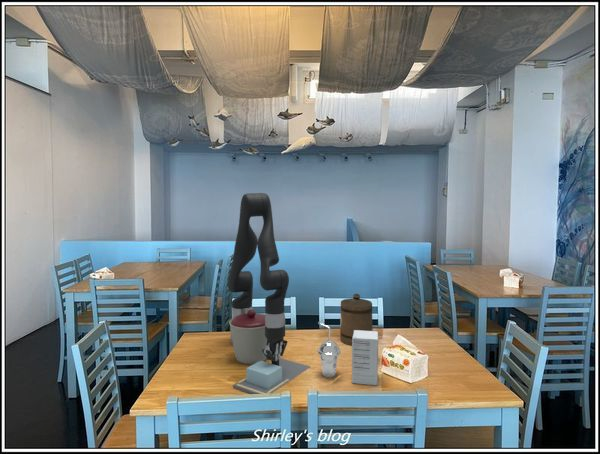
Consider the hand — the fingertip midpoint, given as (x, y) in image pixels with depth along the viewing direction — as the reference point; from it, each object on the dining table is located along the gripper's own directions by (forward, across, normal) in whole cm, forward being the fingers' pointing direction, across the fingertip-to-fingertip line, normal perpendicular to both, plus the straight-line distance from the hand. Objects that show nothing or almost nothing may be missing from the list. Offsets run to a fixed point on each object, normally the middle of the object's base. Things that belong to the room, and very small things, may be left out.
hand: (275, 369), depth 149 cm
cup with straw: (+3, -11, +16) cm, 20 cm away
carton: (+2, +6, 0) cm, 7 cm away
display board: (+3, +1, 0) cm, 3 cm away
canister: (+3, -7, -18) cm, 19 cm away
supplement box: (+3, -17, +28) cm, 33 cm away
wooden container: (+4, -51, +8) cm, 52 cm away
